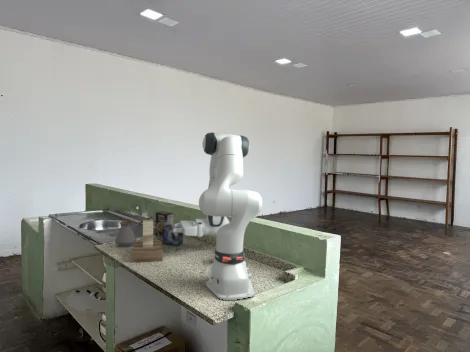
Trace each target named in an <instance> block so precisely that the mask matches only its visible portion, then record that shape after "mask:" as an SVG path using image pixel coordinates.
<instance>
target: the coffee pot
mask: <svg viewBox="0 0 470 352" xmlns="http://www.w3.org/2000/svg"><path fill="white" fill-rule="evenodd" d="M144 220H153V221H154V219H153V216H149V217H147V218H145V219H144ZM119 224H120V228H119V230H118V233H117V235H116V236H115V240H114V242H115V244H116V245H117V246H118V247H120V246H129V247H132V246H134V241H137V238H136V237H137V236H136V235H135V233H134V230H133V228H134V227H136V226H139V225H141V224H143V220H140V221H138V223H136V224H134V225H132V221H121V222H119ZM131 225H132V226H131Z"/></svg>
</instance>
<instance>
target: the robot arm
mask: <svg viewBox="0 0 470 352" xmlns="http://www.w3.org/2000/svg"><path fill="white" fill-rule="evenodd" d="M201 144H202V149H203V152H204V153H205V154H207V155H208V156H210V163H209V182H208V188H207V189H206V190H204V191H203V192H202V193H201V195H200V196H199V199H198V207H199V209H200V211H201V213H203V215H206V218H195V220H194V221H193V220H180V221H179V222H177V223H173V224H172V228H173V232H179V233H183V236H187V237H198V238H202V237H203V236H208V235H211V236H216V239H215V243H216V244H215V250H214V261H212V263H211V264H210V273H209V280H207V281H206V282H205V286H206V287H207V288H208V289H209V290H210V292H212V294H214V295H215V296H216V297H217V298H218V299H219V298H220V299H219V300H222V299H223V300H224V301H237V299H240V300H244V299H243V298H247V297H250V296H253V295H254V296H255V290H254V288H253V283H252V281H251V280H252V279H253V276H252V275H253V274H252V273H248V272H249V267H247V263H246V261H245V250H244V239H245V233H246V230H247V227H248V225H249V223H250V222H251V221H252V219H254V218H256V216H257V215H259V214H260V212H261V211H262V209H263V203H264V202H263V199H262V196H261V194H260V193H259V192H257V191H253V190H249V189H230V187H231V186H233V185H235V184H237V183H239V182H241V180H242V179H243V177H244V158H246V156H247V155H248V154H249V151H250V141H249V139H248V137H246V136H244V135H238V134H231V133H228V132H208V133H206V134H205V135H204V137H203V139H202V143H201ZM228 217H231V219H230V220H229V219H228ZM176 227H178V228H176ZM254 296H253V297H254ZM247 299H248V298H247ZM223 300H222V301H223Z"/></svg>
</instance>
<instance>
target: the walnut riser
mask: <svg viewBox="0 0 470 352" xmlns="http://www.w3.org/2000/svg"><path fill="white" fill-rule="evenodd" d="M163 251H164V250H163V244H162V239H153V247H143V240H136V241H134V244H133V248H132V263H133V262H136V263H151V262H163V260H164V257H163V254H164V253H163Z"/></svg>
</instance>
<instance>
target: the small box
mask: <svg viewBox="0 0 470 352" xmlns="http://www.w3.org/2000/svg"><path fill="white" fill-rule="evenodd" d="M176 228H178V227H176ZM161 243H162V245H167V246H172V247H180V246H181V245H183V244H184V235H183V233H179V232H173V228H172V225H165V226H163V231H162V239H161Z"/></svg>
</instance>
